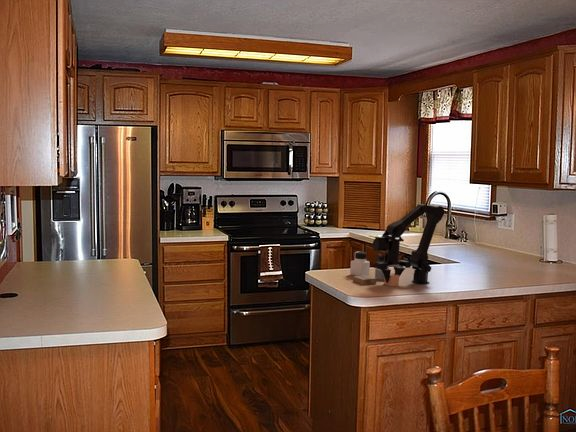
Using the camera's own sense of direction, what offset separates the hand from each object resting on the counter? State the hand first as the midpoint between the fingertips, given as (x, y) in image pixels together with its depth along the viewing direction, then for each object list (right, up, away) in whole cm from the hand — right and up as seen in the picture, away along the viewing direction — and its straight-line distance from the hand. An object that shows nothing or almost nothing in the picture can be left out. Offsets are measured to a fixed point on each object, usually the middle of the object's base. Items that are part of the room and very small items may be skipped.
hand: (391, 282), depth 294 cm
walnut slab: (-13, -1, +2) cm, 13 cm away
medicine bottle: (-13, +1, +20) cm, 24 cm away
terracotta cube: (0, -1, 0) cm, 1 cm away
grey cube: (-3, 0, +12) cm, 13 cm away
